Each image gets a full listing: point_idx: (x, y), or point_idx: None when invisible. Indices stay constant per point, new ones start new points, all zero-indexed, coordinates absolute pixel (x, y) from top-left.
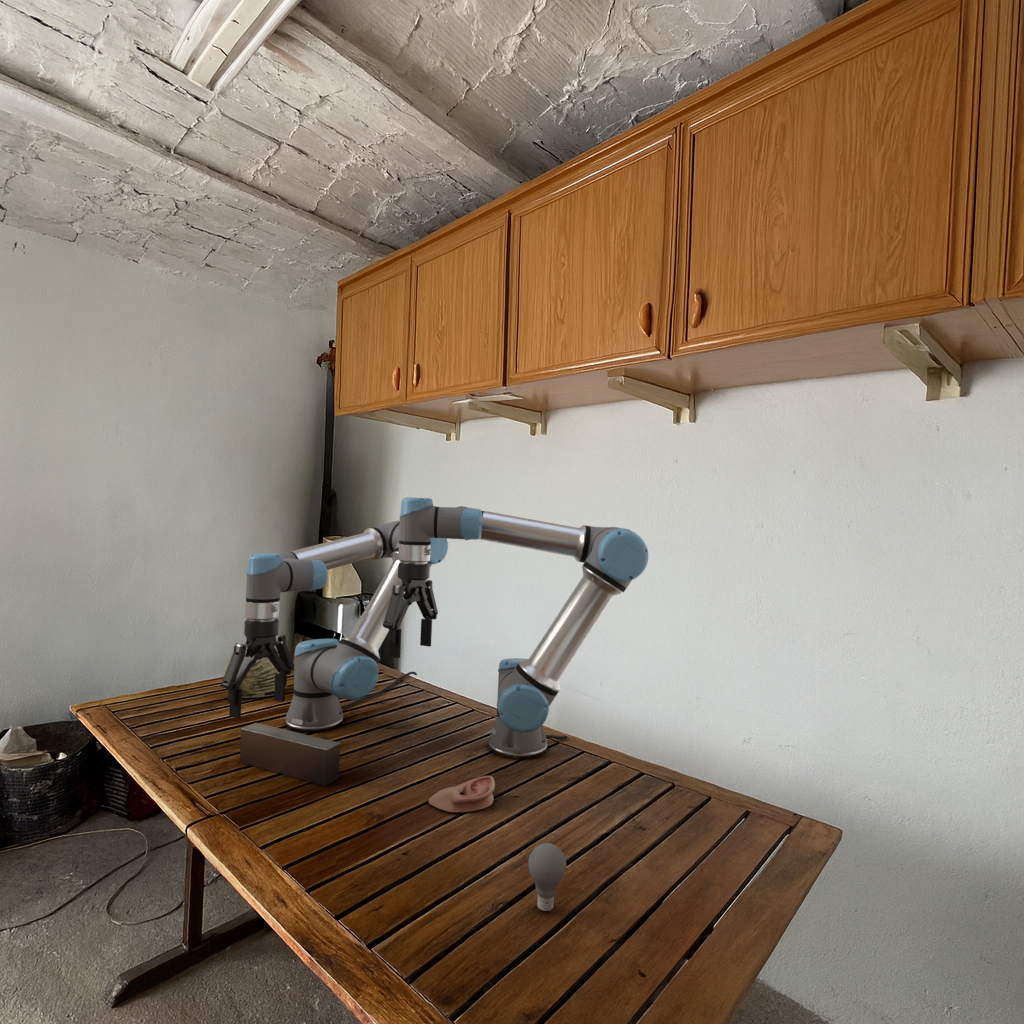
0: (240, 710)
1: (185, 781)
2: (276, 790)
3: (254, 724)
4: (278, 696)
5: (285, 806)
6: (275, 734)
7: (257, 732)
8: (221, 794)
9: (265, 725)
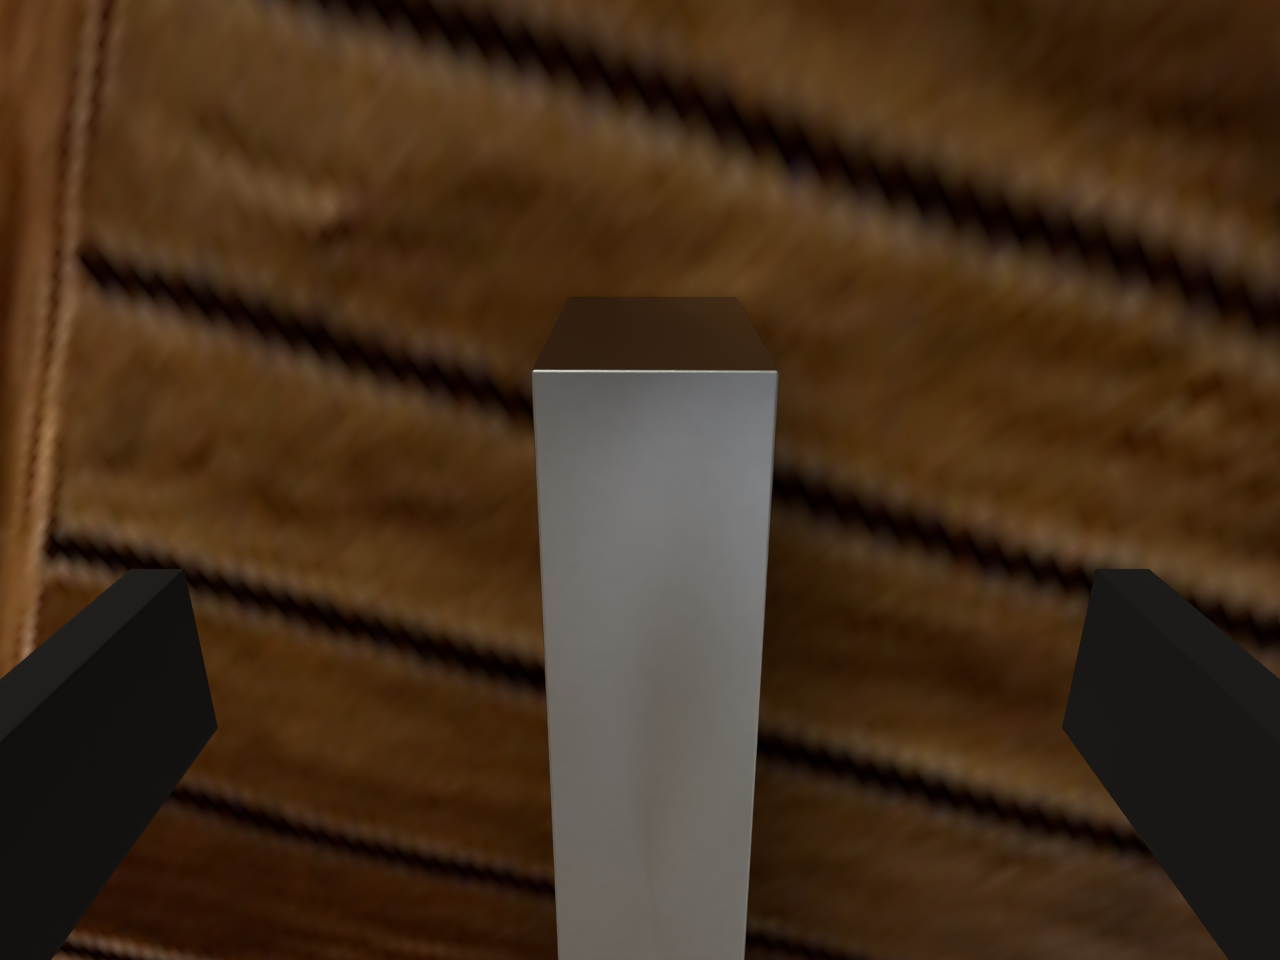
0: (153, 801)
1: (79, 207)
2: (393, 813)
3: (717, 406)
4: (1116, 701)
5: (293, 955)
6: (603, 784)
7: (544, 613)
8: None
9: (755, 535)
